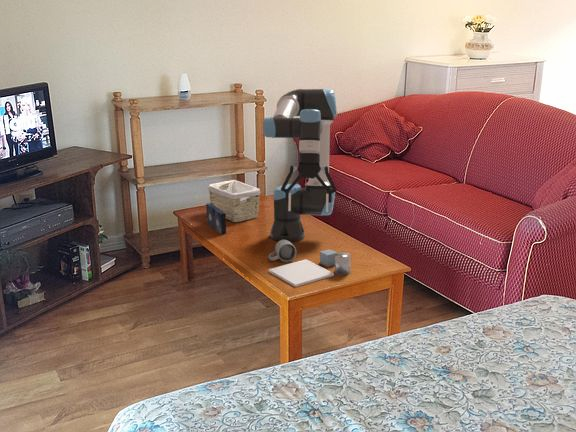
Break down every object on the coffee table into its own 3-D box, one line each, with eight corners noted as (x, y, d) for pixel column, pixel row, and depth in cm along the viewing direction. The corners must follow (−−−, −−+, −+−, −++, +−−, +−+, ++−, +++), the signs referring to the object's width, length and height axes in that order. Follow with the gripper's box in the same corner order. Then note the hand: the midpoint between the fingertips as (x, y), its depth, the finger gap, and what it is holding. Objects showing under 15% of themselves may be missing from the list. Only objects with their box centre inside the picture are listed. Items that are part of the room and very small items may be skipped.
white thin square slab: (306, 261, 271) (306, 259, 271) (333, 275, 257) (333, 273, 256) (268, 271, 261) (268, 269, 261) (295, 287, 247) (295, 284, 247)
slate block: (329, 260, 272) (329, 248, 270) (337, 264, 268) (337, 252, 267) (319, 263, 269) (319, 251, 268) (327, 267, 265) (327, 255, 264)
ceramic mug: (291, 253, 279) (291, 236, 277) (296, 261, 272) (296, 243, 269) (266, 256, 277) (266, 239, 274) (271, 264, 269) (270, 246, 267)
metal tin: (343, 267, 264) (343, 251, 262) (353, 272, 260) (353, 255, 257) (331, 271, 261) (331, 254, 259) (341, 276, 256) (341, 259, 254)
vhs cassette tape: (226, 234, 304) (225, 213, 301) (220, 235, 302) (219, 214, 299) (212, 222, 319) (211, 202, 316) (206, 223, 318) (205, 203, 315)
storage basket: (207, 212, 335) (206, 183, 330) (235, 206, 344) (234, 178, 339) (233, 224, 316) (232, 194, 312) (262, 218, 326) (261, 188, 321)
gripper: (274, 151, 240) (273, 211, 241) (344, 152, 239) (343, 212, 240) (275, 152, 247) (274, 210, 249) (343, 153, 247) (342, 211, 248)
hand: (308, 211), depth 245 cm, fingers open, 13 cm apart
